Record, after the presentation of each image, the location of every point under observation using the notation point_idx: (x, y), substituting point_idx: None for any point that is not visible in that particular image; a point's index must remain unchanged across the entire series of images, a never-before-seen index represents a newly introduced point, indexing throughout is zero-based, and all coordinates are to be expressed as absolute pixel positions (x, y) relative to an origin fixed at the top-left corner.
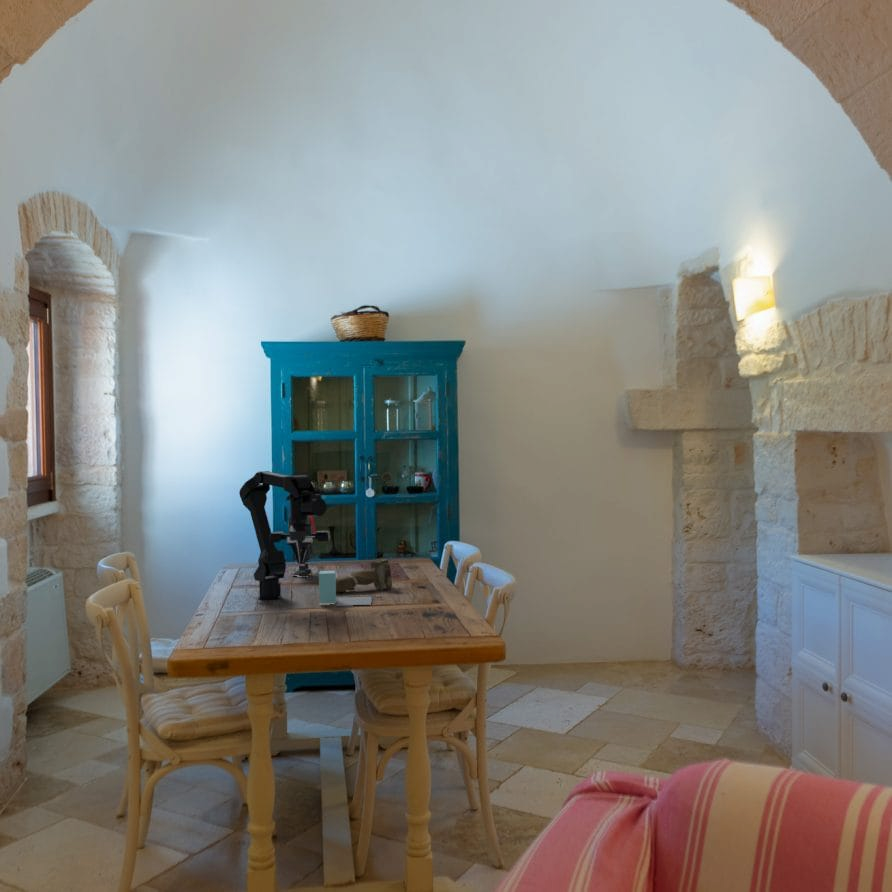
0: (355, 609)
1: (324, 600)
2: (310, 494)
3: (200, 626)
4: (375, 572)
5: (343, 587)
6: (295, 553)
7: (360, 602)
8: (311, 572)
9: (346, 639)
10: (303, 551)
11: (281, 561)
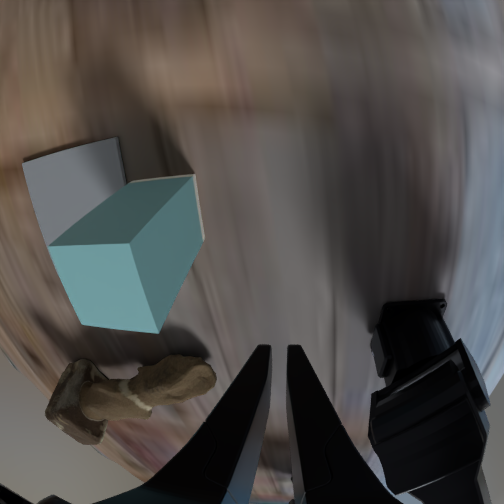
0: (50, 96)
1: (165, 182)
2: None
3: None
4: (81, 400)
5: (160, 367)
6: (331, 429)
7: (54, 192)
8: (292, 480)
9: None
10: (213, 446)
11: (399, 437)
